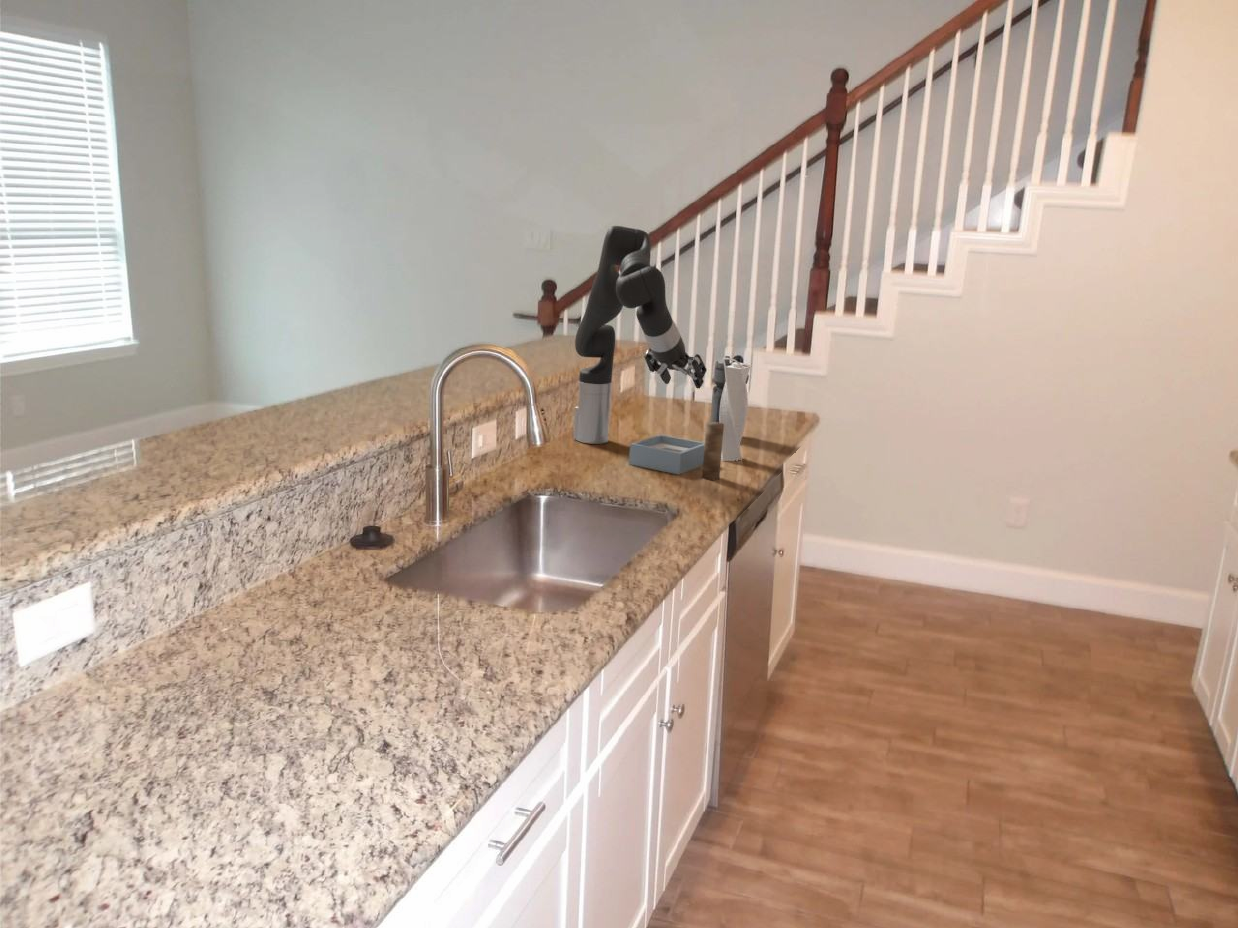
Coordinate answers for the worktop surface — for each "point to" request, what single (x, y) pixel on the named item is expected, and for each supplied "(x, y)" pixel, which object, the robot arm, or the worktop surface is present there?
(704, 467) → the peg
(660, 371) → the robot arm
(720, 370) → the dark tall piece
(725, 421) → the skyscraper
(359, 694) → the worktop surface
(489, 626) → the worktop surface
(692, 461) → the box
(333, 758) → the worktop surface
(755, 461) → the worktop surface
